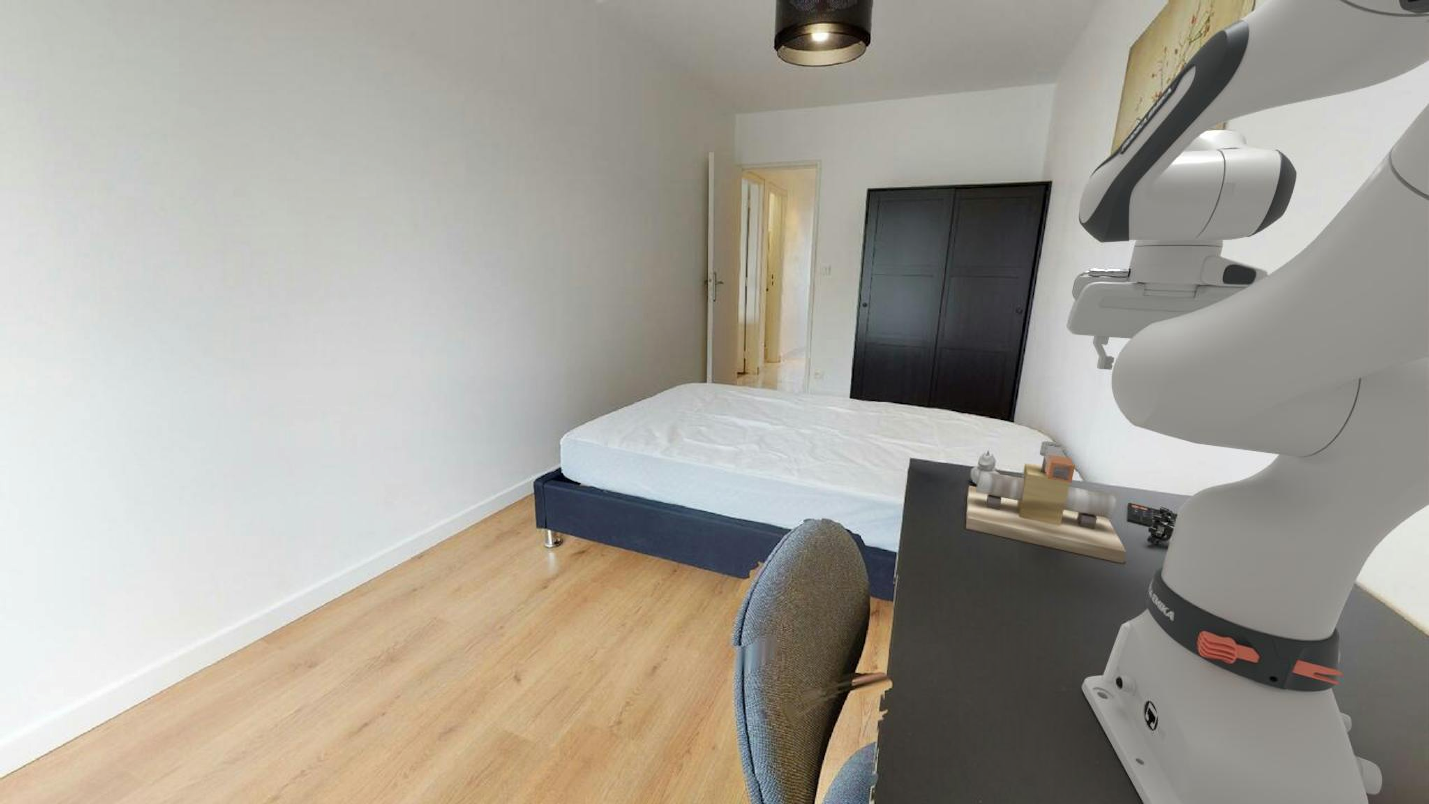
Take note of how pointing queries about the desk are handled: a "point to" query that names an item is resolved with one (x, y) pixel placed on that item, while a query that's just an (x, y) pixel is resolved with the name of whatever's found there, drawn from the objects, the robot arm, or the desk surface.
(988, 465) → the white meringue swirl
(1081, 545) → the valve stand
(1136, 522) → the calculator
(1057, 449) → the valve lever
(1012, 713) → the desk surface
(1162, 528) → the valve
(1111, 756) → the desk surface
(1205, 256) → the robot arm
